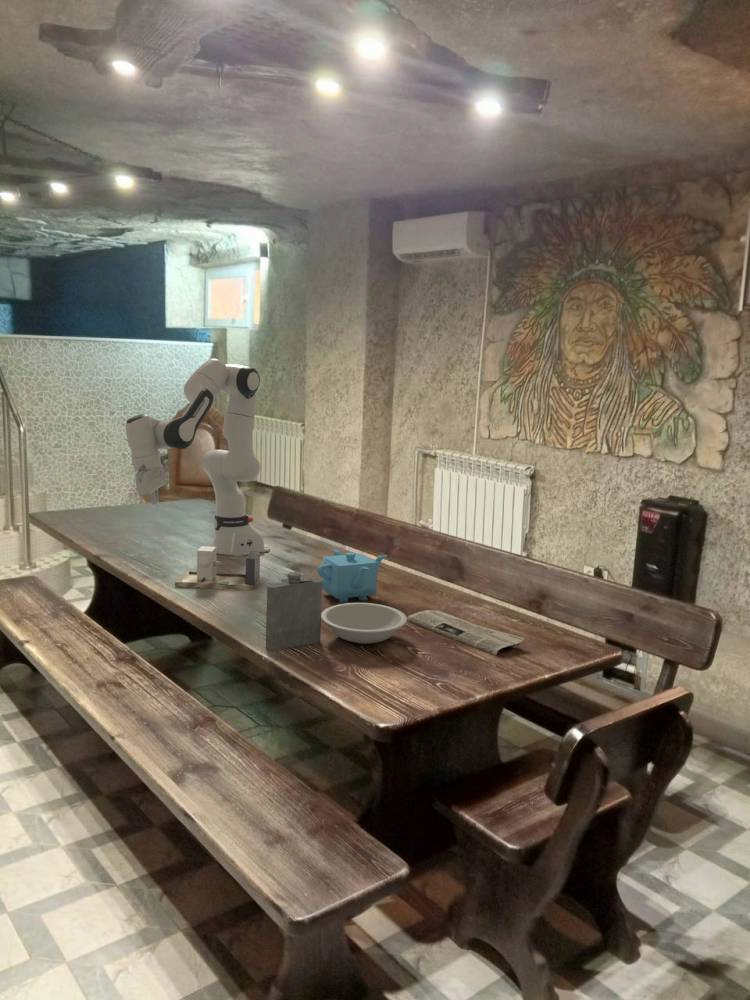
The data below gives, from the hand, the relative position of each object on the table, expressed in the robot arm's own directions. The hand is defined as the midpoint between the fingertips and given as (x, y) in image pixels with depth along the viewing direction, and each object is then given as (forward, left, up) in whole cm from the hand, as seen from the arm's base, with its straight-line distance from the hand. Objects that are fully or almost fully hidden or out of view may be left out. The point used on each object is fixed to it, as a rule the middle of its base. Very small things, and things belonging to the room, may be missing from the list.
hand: (155, 503), depth 263 cm
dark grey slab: (-27, +22, -24) cm, 42 cm away
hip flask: (-19, +76, -25) cm, 82 cm away
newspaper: (-69, +86, -26) cm, 113 cm away
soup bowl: (-39, +79, -25) cm, 92 cm away
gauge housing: (-14, +16, -23) cm, 31 cm away
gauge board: (-17, +16, -25) cm, 34 cm away
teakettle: (-53, +44, -25) cm, 73 cm away
